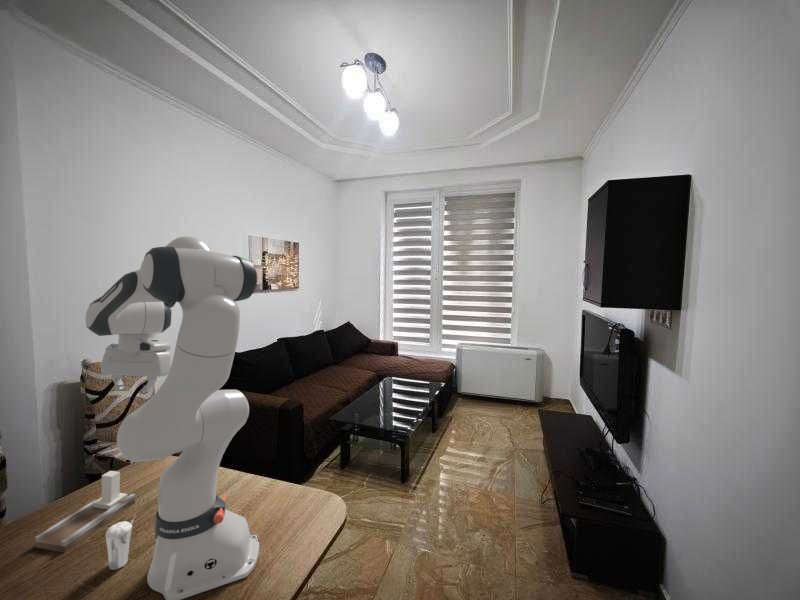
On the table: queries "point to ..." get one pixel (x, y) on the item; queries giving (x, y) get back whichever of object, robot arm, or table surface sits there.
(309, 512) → the table surface
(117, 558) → the milkshake
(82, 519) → the fader track
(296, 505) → the table surface
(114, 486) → the fader tab
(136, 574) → the table surface
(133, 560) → the table surface
